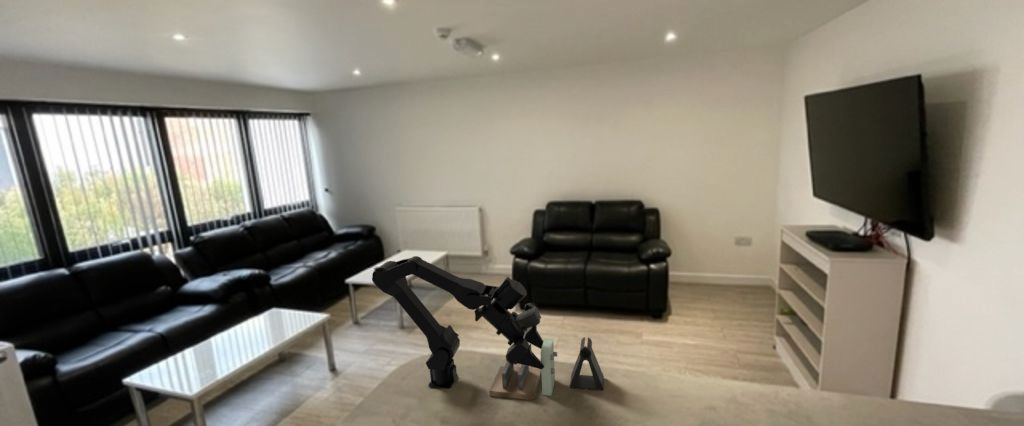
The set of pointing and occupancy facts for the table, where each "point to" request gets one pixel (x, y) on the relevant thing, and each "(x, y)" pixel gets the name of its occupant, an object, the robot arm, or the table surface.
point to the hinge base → (516, 382)
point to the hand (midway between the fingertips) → (544, 358)
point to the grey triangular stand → (587, 354)
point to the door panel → (548, 366)
